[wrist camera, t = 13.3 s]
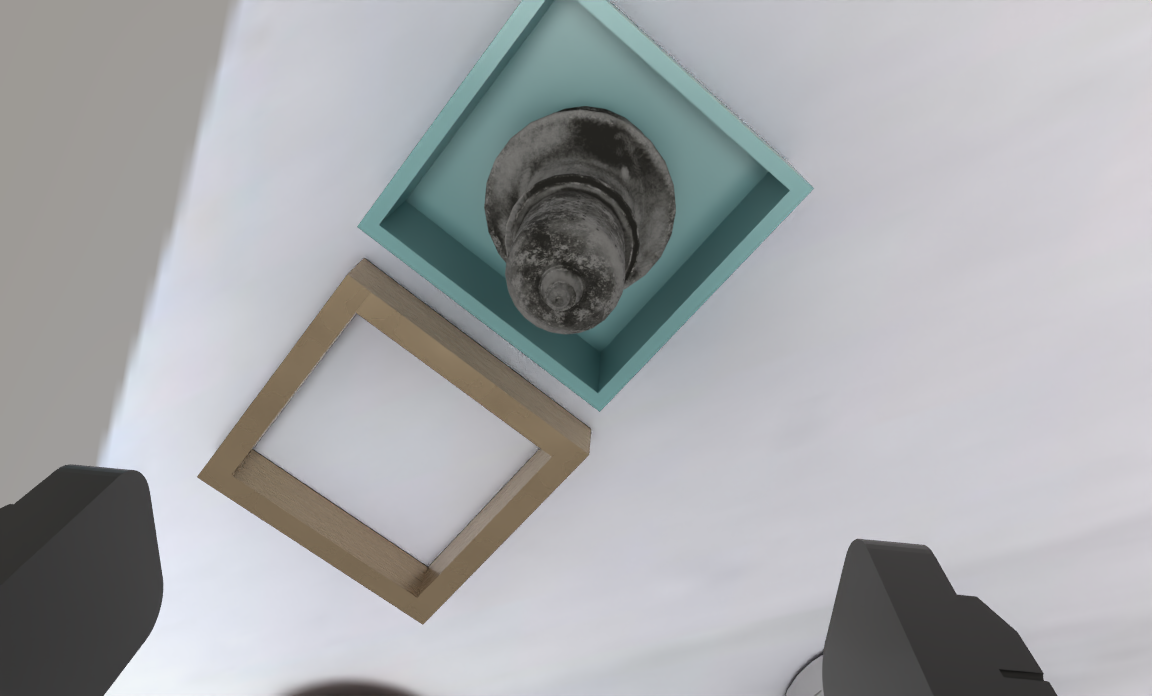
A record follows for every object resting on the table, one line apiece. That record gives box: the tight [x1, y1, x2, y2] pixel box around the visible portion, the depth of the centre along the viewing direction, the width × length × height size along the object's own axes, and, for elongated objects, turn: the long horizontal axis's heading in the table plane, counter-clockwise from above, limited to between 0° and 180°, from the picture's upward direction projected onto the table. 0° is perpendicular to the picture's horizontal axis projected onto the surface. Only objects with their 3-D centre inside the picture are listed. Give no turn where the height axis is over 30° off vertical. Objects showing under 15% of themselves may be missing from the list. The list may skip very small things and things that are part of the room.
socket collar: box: [197, 258, 591, 624], centre depth 33 cm, size 11×11×2 cm
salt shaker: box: [484, 106, 676, 335], centre depth 23 cm, size 6×6×12 cm
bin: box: [357, 0, 814, 412], centre depth 27 cm, size 10×10×4 cm
